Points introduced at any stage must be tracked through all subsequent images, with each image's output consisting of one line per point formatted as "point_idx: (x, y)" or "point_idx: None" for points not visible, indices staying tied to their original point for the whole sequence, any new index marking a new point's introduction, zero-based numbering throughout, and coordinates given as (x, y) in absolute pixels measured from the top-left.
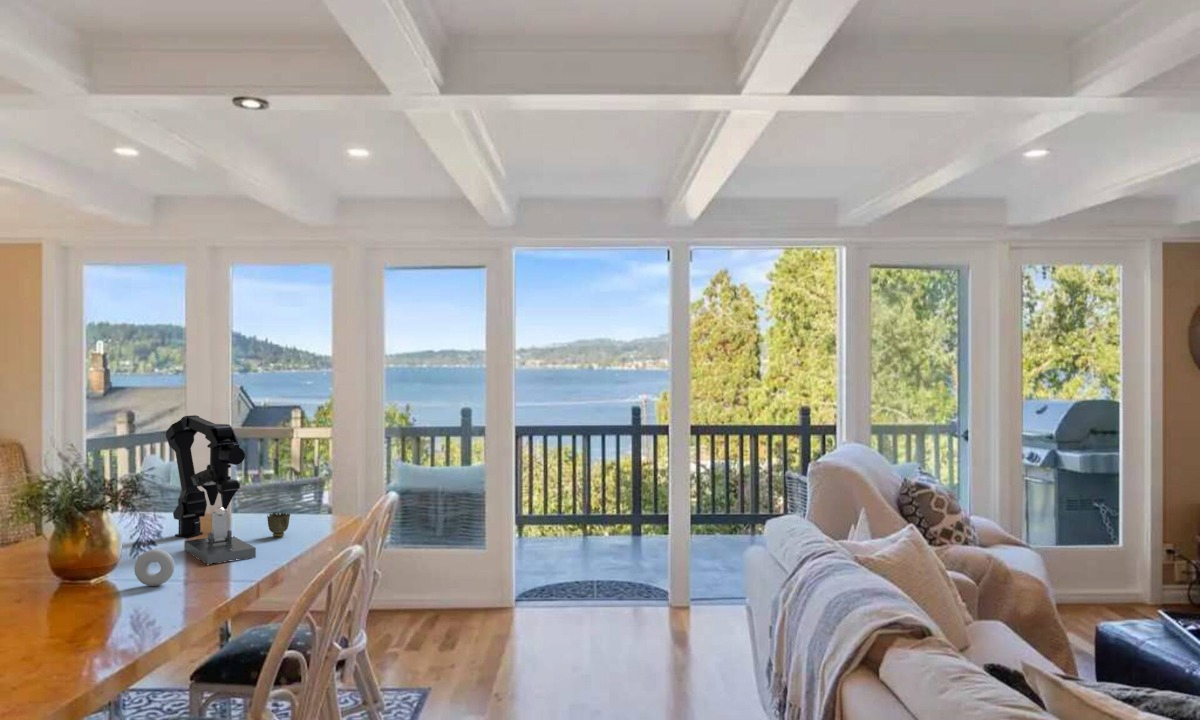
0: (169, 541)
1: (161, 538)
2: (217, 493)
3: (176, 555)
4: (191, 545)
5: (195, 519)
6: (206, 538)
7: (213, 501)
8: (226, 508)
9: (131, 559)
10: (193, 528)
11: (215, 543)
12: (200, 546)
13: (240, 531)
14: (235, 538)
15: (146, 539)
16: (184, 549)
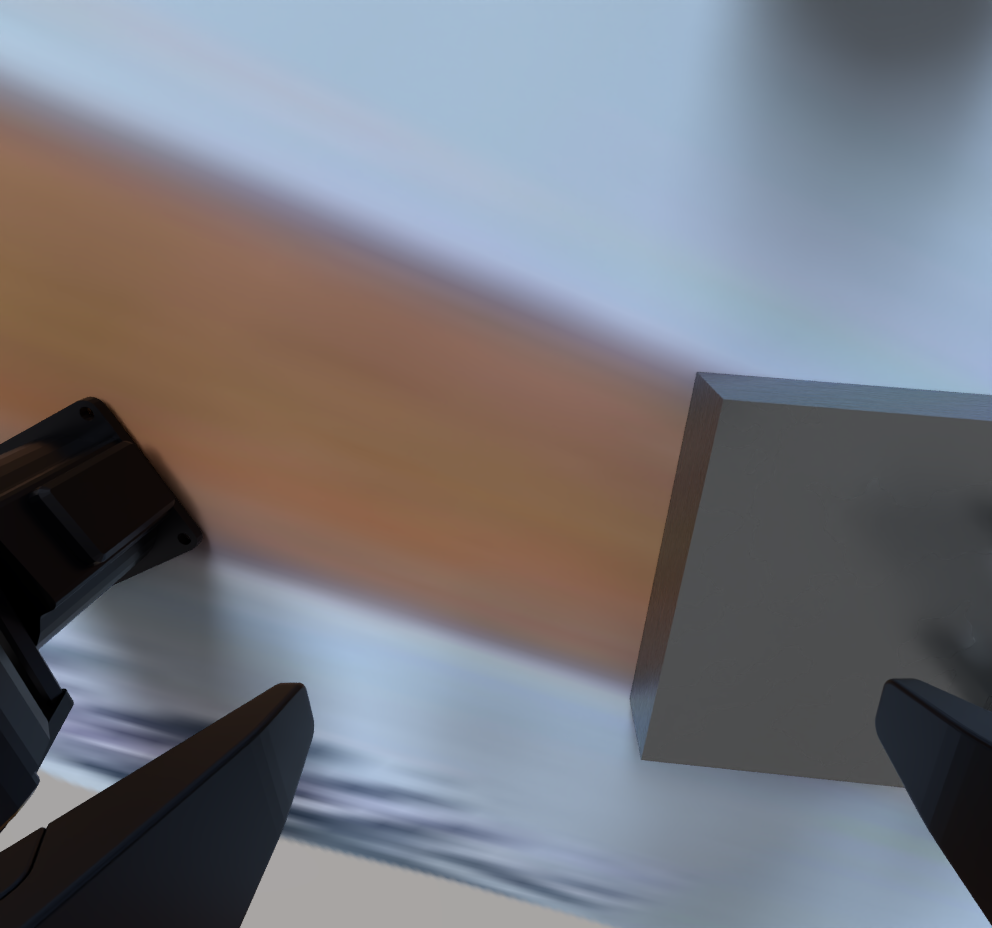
0: (250, 664)
1: (109, 665)
2: (96, 888)
3: (736, 772)
4: (846, 780)
5: (40, 565)
6: (699, 624)
7: (275, 761)
8: (933, 690)
9: (610, 919)
10: (130, 536)
11: (983, 650)
12: None
13: (173, 19)
14: (979, 440)
15: (91, 730)
16: (631, 702)
